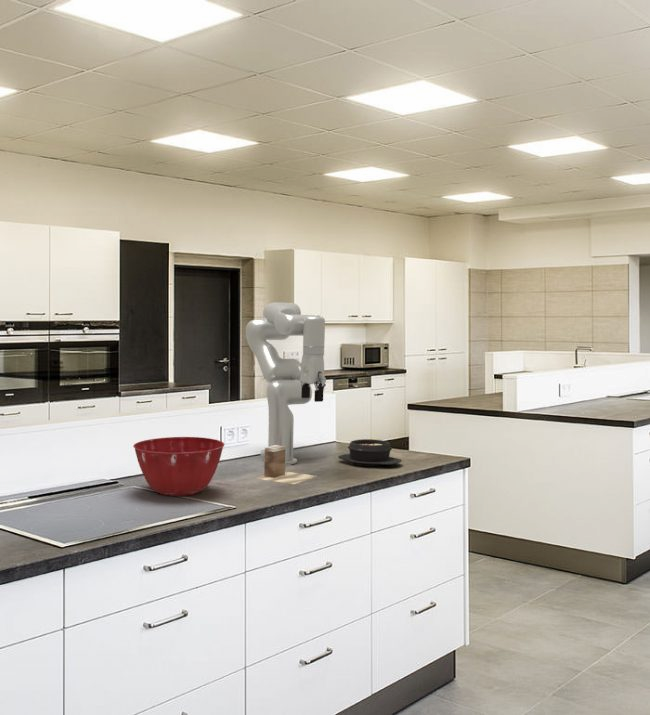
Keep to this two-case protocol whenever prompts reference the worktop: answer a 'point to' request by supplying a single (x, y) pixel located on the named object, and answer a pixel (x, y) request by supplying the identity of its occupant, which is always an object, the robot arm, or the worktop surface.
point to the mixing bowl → (178, 463)
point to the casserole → (370, 453)
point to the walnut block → (274, 461)
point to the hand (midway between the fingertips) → (312, 399)
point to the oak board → (289, 478)
